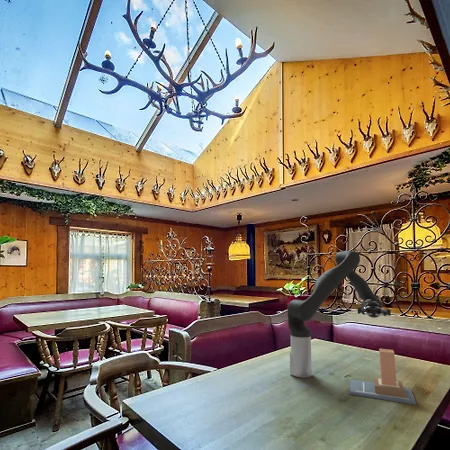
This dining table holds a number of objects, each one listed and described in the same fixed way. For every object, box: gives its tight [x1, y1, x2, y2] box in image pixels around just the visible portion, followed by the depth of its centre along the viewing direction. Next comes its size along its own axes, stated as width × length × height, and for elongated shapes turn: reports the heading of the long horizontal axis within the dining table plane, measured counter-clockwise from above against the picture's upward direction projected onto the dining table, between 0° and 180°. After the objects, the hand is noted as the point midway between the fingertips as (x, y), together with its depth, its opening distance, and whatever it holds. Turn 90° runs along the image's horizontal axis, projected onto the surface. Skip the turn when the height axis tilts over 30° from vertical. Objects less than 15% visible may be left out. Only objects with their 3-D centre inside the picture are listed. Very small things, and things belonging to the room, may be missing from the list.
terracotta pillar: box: [378, 348, 397, 386], centre depth 120 cm, size 5×5×12 cm
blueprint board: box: [349, 377, 417, 406], centre depth 120 cm, size 22×14×4 cm, turn 66°
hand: (374, 313), depth 140 cm, fingers open, 8 cm apart
